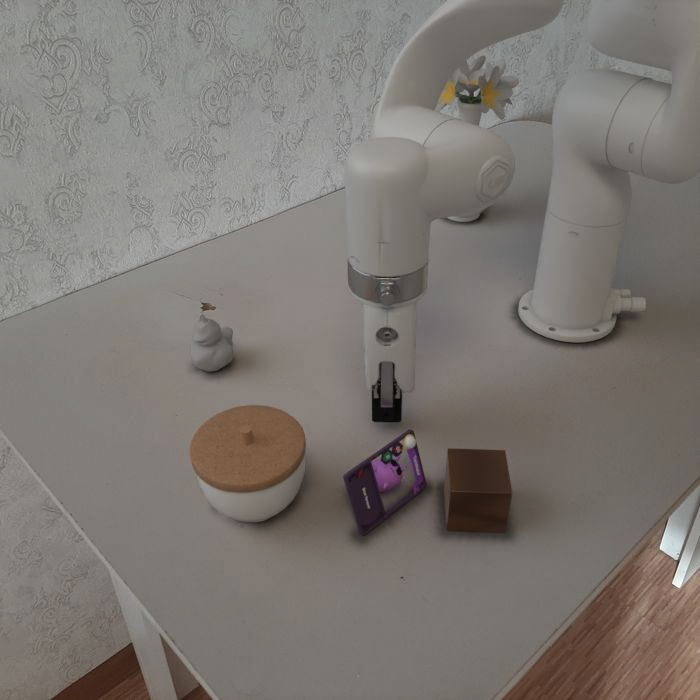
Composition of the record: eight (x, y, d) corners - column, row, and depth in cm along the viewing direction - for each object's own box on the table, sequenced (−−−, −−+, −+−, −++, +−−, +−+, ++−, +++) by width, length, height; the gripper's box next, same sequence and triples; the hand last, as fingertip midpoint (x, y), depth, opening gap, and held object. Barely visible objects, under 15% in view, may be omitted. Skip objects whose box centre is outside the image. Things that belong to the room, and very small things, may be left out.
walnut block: (498, 489, 72) (505, 449, 68) (505, 533, 67) (512, 493, 64) (443, 487, 72) (447, 447, 69) (446, 531, 67) (450, 491, 64)
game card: (350, 479, 64) (418, 430, 69) (315, 464, 68) (382, 419, 73) (367, 539, 66) (432, 488, 71) (333, 521, 70) (396, 474, 75)
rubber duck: (180, 369, 88) (170, 315, 83) (217, 342, 92) (209, 290, 87) (213, 384, 85) (204, 330, 80) (249, 356, 90) (242, 303, 85)
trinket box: (205, 463, 75) (192, 395, 69) (307, 456, 76) (302, 387, 70) (196, 546, 66) (180, 476, 61) (311, 537, 67) (306, 467, 61)
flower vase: (511, 196, 126) (530, 47, 111) (483, 243, 112) (501, 80, 97) (440, 185, 130) (449, 39, 115) (405, 229, 117) (411, 70, 102)
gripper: (431, 319, 61) (423, 468, 72) (424, 235, 73) (419, 374, 84) (343, 319, 61) (349, 467, 73) (351, 235, 73) (355, 373, 84)
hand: (386, 417), depth 78 cm, fingers closed
